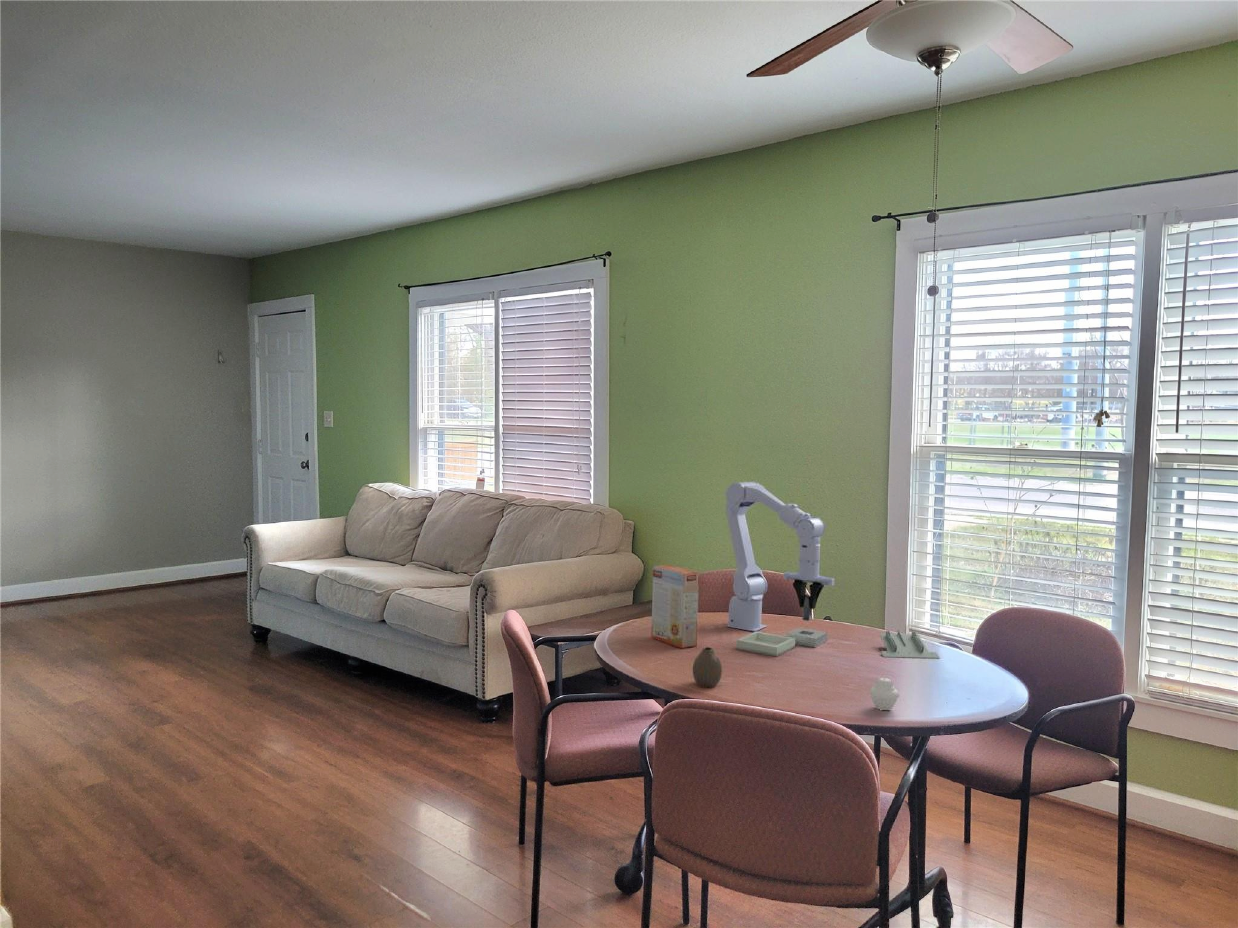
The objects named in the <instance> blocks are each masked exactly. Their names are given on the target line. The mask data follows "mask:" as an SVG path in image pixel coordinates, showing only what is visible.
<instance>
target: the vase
mask: <svg viewBox="0 0 1238 928" xmlns="http://www.w3.org/2000/svg"><path fill="white" fill-rule="evenodd" d="M722 673H723V667H722V663H721V660H720V658H719V657H718V656H717V654H716V652H715V651H714V648H712V647H708V646H707V647H703V648H702V650H701V652H699V654H698V655H697V657H696V658H695V659H694V662H693V664H692V676H693V680H694V681H695V682H696V684H697V685H698V686H699V685H700V686H699V687H702V688H714V687H715V686H717V685H718V684H719V682H720V680H721V678H722Z"/></svg>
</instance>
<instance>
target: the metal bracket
mask: <svg viewBox="0 0 1238 928" xmlns="http://www.w3.org/2000/svg"><path fill="white" fill-rule="evenodd" d="M879 637H880V639H881V640H882V643H883V645H884V647H885V648H886V650H882V651H881V652H880V653H881V655H882V656H883V658H886V659H887V658H890V659H899V658H900V659H924V660H925V659H927V660H939V659H940V658H941V657H940V656H939V653H938V652H936V651H929V650H928V649H927V647H926V645H925V643H924V642H923V640H922V637H920V634H918V633H916V631H915V630H911V633H901V632H900V629H898V630H897V633H891V631H890V630H886V631H885V633H879Z"/></svg>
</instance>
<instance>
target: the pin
mask: <svg viewBox="0 0 1238 928" xmlns="http://www.w3.org/2000/svg"><path fill="white" fill-rule="evenodd" d="M810 599H811V595H810V594H808V593H805V594H804V595H803V607H802V614H801V615H802V616H801V617H802V620H803V621H807V622H808V621H812V620H813V619H812V618H813V609H810Z"/></svg>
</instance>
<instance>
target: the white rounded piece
mask: <svg viewBox="0 0 1238 928" xmlns="http://www.w3.org/2000/svg"><path fill="white" fill-rule="evenodd" d="M869 694H870V699H871V700H872V702H873V704H874V707H875V709H877V708H879V709H882V710H890V709H891V710H892V709H893V707H894V706H895V705H896V703H897V701H898V699H899V697H900V694H899V691H898V690H897V689H896V687H895V686H894V682H893V681H892V680H891V679H889V678H886V677H881V678H878V679H876V683H875V684H874V686H872V687H871V688H870V689H869ZM891 710H890V711H891Z"/></svg>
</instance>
